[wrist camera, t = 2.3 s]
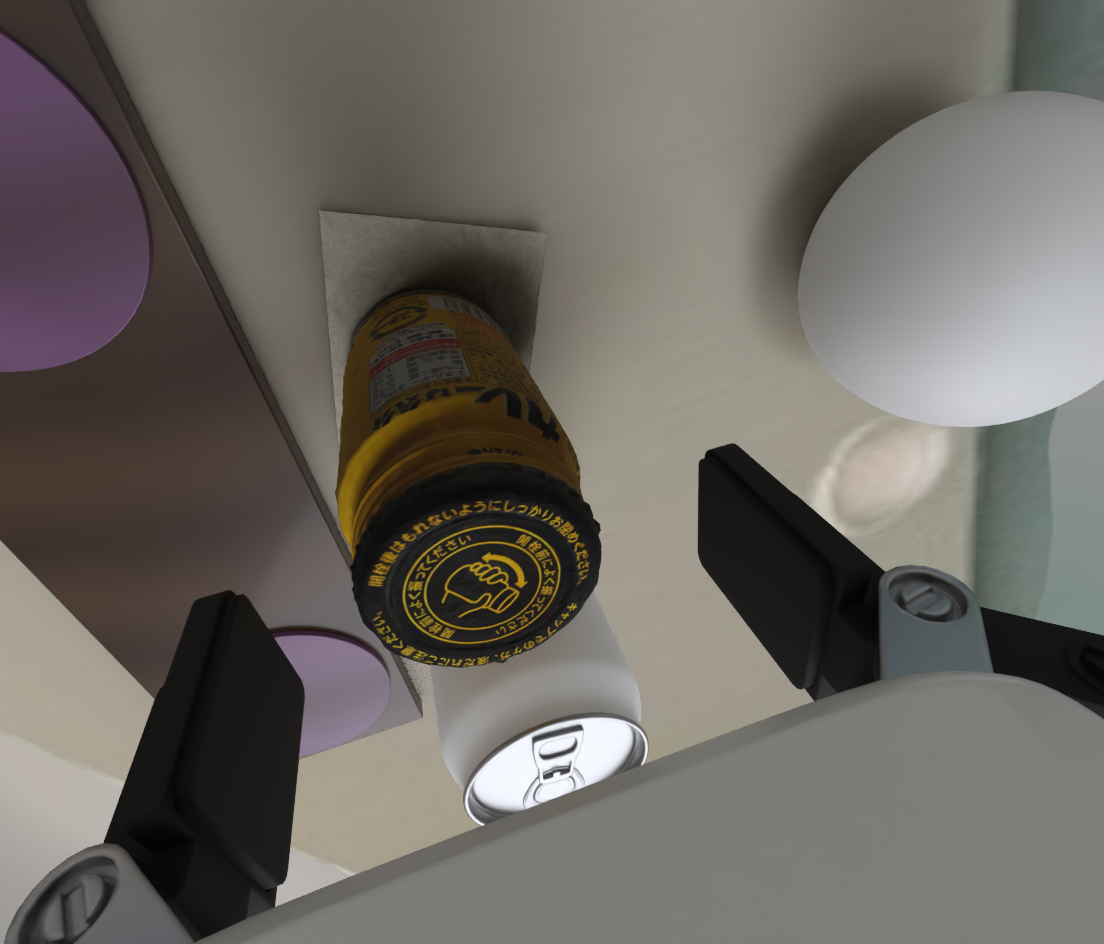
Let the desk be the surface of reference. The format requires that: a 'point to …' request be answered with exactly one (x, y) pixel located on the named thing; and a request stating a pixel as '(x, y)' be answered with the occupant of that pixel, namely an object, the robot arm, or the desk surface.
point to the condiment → (450, 441)
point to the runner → (150, 402)
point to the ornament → (967, 263)
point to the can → (541, 719)
